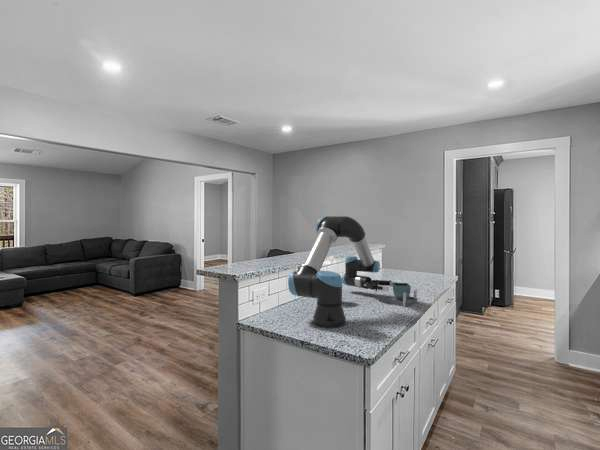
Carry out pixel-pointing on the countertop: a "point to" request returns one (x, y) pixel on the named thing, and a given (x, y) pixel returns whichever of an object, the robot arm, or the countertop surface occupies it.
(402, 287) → the flower pot
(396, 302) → the tray
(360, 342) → the countertop surface
